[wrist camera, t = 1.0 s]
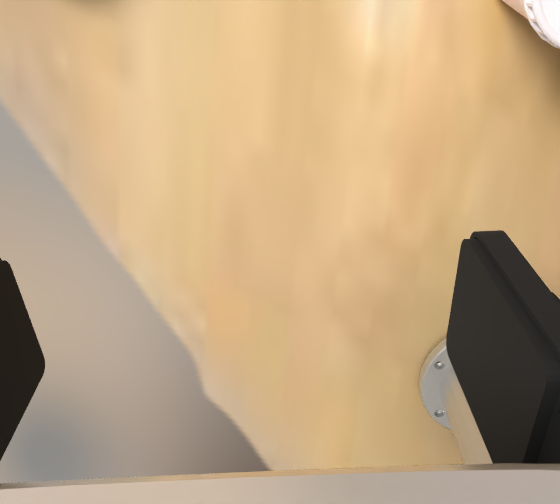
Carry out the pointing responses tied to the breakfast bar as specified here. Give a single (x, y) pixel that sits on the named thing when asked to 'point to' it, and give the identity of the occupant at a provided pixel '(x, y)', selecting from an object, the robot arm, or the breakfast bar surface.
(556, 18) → the smoothie
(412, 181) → the breakfast bar surface
